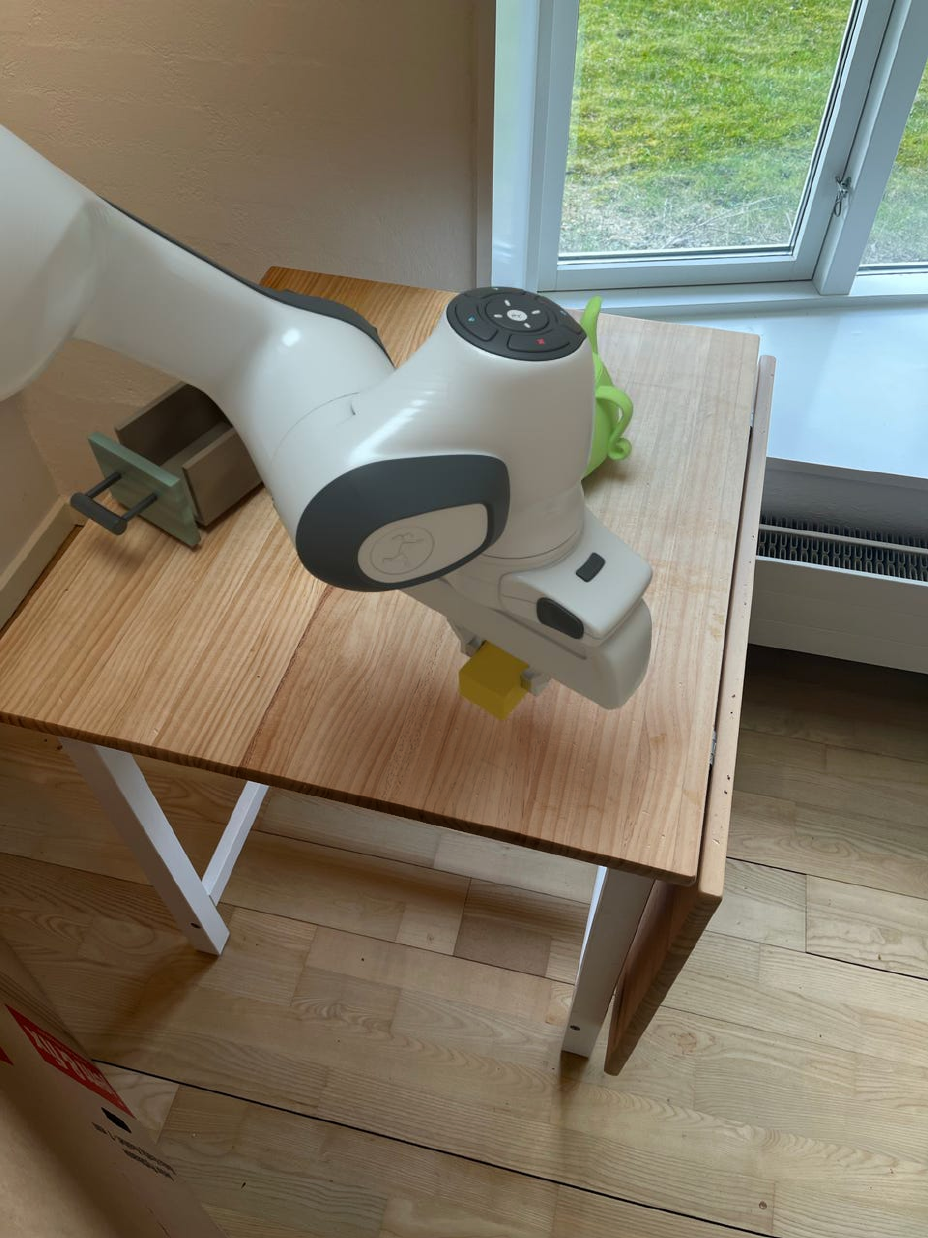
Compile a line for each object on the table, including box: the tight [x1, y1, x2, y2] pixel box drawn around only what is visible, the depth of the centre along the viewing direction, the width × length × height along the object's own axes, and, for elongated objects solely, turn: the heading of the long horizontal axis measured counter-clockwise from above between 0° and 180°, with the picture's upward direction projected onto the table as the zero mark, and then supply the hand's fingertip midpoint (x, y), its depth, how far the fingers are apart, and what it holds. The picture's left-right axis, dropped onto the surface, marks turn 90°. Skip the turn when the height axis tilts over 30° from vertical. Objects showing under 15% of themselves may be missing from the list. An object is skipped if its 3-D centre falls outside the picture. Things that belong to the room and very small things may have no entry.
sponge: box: [458, 641, 529, 722], centre depth 70 cm, size 6×4×3 cm, turn 143°
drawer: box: [69, 380, 263, 548], centre depth 90 cm, size 20×11×8 cm, turn 143°
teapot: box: [578, 295, 634, 480], centre depth 93 cm, size 16×14×13 cm
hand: (505, 668), depth 70 cm, fingers closed on sponge, 4 cm apart
